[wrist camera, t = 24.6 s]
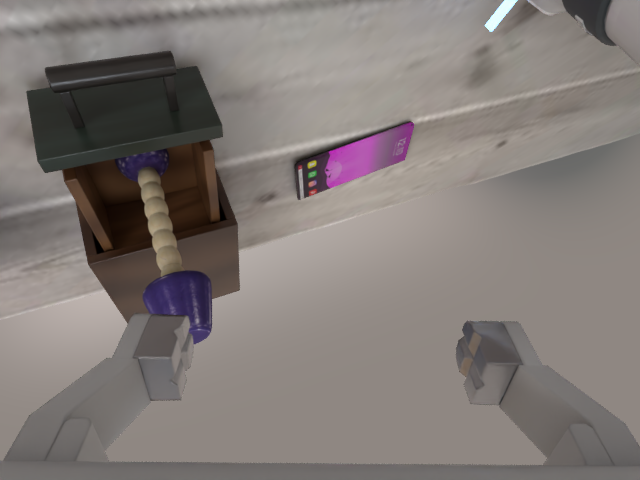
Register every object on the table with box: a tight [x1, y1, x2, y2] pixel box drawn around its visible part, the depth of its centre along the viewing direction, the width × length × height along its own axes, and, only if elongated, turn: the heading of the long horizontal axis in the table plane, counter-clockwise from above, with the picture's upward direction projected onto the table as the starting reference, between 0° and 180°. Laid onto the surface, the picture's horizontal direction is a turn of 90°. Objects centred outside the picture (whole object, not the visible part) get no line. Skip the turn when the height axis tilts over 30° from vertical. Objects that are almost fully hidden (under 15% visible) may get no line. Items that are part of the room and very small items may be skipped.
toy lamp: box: [115, 149, 212, 344], centre depth 33 cm, size 5×5×17 cm
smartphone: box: [295, 122, 414, 200], centre depth 53 cm, size 7×15×1 cm, turn 89°
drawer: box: [26, 51, 223, 252], centre depth 33 cm, size 18×11×6 cm, turn 170°
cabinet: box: [76, 167, 240, 323], centre depth 46 cm, size 15×13×8 cm
